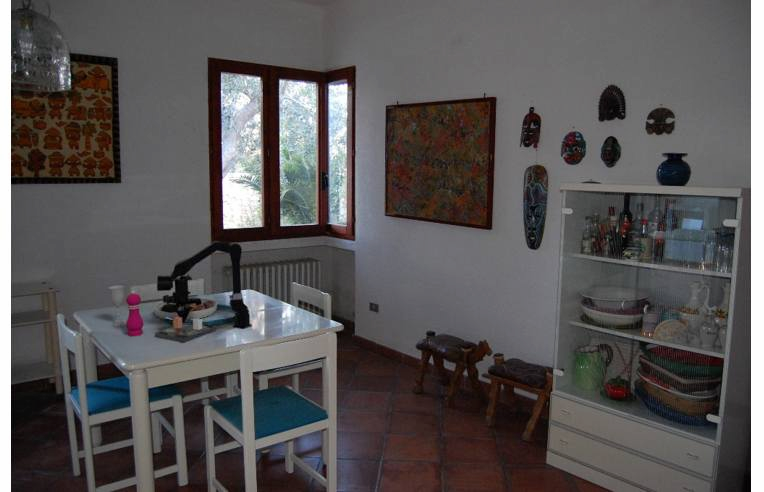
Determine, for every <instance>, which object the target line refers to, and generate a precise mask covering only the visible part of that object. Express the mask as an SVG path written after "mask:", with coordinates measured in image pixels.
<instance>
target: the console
mask: <svg viewBox="0 0 764 492" xmlns="http://www.w3.org/2000/svg"><path fill="white" fill-rule="evenodd" d="M188 322H189V323H193V320H188ZM204 324H205V325H202V329H199V330H197V329H193V325H188V324H187V325H186V324H183V323H182V327H181V328H174V327H173V326H171V327H168V328H165V329H161V330H160V331H156V332H154V337H155V338H158V339H162V340H163V339H164V340H167V341H172V342H176V343H183V344H184V343H187V341H188V342H190V341H193V340H195V338H196V339H198V338H200V337H203V336H206V335H210V334H211V333H214V332H217V326H216V325H213V324H210V323H204Z"/></svg>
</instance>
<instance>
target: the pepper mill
mask: <svg viewBox="0 0 764 492" xmlns="http://www.w3.org/2000/svg"><path fill="white" fill-rule="evenodd" d="M130 292H131V293H130V294H128V295H126V298H125V300H126V301H125V302H126V303H127V309H128V317H127V320H126V323H125V327H126V329H127V336H129V337H138V336H139V337H140V336H142V335H143V334H144V329H143V327H144V320H143V318H142V316H141V313H140V308H141V304H140V303H141V301H142V298H141V296H140V295H139V294H137V293H136V291H135V290H131V291H130Z"/></svg>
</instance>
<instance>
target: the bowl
mask: <svg viewBox="0 0 764 492" xmlns="http://www.w3.org/2000/svg"><path fill="white" fill-rule="evenodd" d="M199 298H200V299H201V304H200V305H196V304H195V303H194V304H191V305H190V307H193V308H192V309H191V311H190V312H189V314H188V316H187V318H186V320H188V321H192V320H191V319H195V318H201V319H204V318H203V317H205V318H207V316H208V317H210V316H211V315H213V314H215V312H216V310H217V309H218V302H217V301H215V300H213V299H209V298H201V297H199ZM166 304H167V303H164V302H159V303H157V304H156V305H154V309H153V310H154V313H155V314H156V316H157V317H158V318H159V319H162V320H165V317H169V318H171V319H173V318H174V317H179V316H178V314H177V313H176V312H174V313H168V312H162V307H163V305H166ZM169 304H173V303H169ZM174 305H175V304H174Z"/></svg>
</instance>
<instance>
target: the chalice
mask: <svg viewBox="0 0 764 492" xmlns="http://www.w3.org/2000/svg"><path fill="white" fill-rule="evenodd" d="M108 290H109V298H110V301H111V303H112V305H113V306H114V307H115V308H116V311H115V312H116V319H115V320H114V322H113V324H112V327H121V326H125V322H124V320H123V319H121V318H120V316H121V314H120V311H121V309H120V307H121V306H122V304H123V302H124V299H125V286H124V285H112V286H109V287H108Z"/></svg>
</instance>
